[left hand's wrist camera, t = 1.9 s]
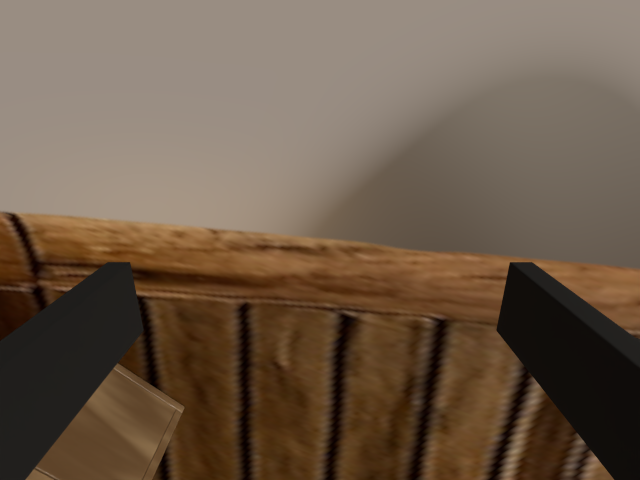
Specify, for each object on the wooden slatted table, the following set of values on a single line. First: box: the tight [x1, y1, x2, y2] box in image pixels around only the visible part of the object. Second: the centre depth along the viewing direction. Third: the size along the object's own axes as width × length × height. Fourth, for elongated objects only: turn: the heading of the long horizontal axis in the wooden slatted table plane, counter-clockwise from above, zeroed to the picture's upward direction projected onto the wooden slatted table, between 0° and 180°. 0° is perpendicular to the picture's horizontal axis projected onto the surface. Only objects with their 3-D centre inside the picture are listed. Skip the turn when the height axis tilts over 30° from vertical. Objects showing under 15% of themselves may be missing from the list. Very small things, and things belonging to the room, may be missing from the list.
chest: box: [34, 363, 185, 480], centre depth 31 cm, size 15×10×10 cm, turn 137°
